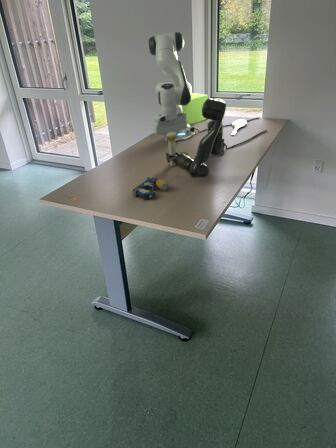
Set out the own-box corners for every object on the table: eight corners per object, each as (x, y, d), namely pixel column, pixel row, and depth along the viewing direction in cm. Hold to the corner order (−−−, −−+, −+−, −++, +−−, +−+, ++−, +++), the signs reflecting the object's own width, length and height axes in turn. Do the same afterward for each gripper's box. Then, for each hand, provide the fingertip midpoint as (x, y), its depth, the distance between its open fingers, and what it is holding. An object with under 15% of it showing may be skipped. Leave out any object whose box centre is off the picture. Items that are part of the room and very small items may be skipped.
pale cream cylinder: (171, 166, 201) (169, 139, 192) (169, 164, 204) (166, 137, 195) (177, 164, 202) (176, 137, 193) (175, 162, 205) (173, 136, 196)
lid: (169, 141, 192) (169, 137, 191) (166, 139, 196) (165, 135, 195) (176, 139, 193) (176, 135, 192) (173, 137, 197) (173, 133, 196)
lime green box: (191, 115, 302) (190, 88, 290) (208, 118, 288) (208, 90, 276) (170, 121, 289) (168, 93, 277) (187, 125, 275) (185, 95, 263)
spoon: (240, 137, 241) (240, 135, 240) (225, 137, 245) (225, 134, 244) (248, 121, 267) (248, 119, 266) (234, 121, 271) (234, 118, 270)
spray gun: (173, 183, 178) (149, 181, 184) (172, 176, 176) (148, 174, 182) (155, 202, 162) (129, 198, 169) (154, 194, 160) (128, 191, 167)
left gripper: (183, 111, 194) (184, 134, 201) (151, 117, 186) (153, 141, 194) (188, 112, 189) (189, 137, 196) (155, 119, 181) (158, 144, 189)
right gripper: (194, 152, 189) (180, 144, 202) (172, 158, 184) (159, 150, 197) (195, 164, 193) (181, 156, 206) (173, 170, 188) (160, 162, 201)
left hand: (171, 139), depth 195 cm, fingers closed on lid, 4 cm apart
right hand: (170, 153), depth 202 cm, fingers closed on pale cream cylinder, 4 cm apart
